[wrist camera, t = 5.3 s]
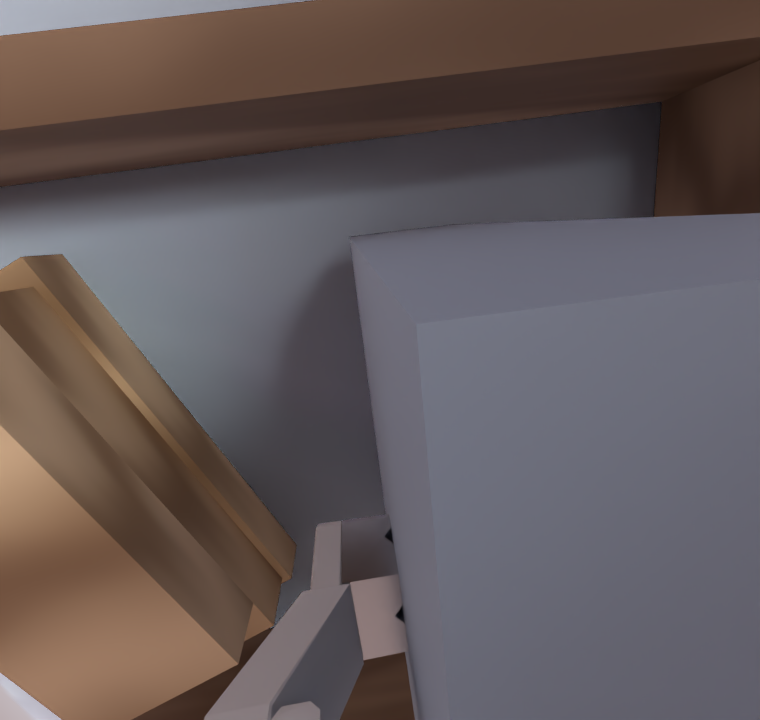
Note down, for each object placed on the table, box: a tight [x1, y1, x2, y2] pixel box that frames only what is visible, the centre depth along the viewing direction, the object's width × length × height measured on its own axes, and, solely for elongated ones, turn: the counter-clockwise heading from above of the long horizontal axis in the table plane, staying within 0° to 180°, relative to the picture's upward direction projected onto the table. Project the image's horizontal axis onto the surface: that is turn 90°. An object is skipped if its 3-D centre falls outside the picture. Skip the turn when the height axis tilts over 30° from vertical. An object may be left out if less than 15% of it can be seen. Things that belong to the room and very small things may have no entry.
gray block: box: [349, 213, 760, 720], centre depth 8 cm, size 12×3×11 cm, turn 6°
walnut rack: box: [0, 0, 760, 720], centre depth 13 cm, size 22×26×5 cm
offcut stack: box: [0, 254, 297, 720], centre depth 13 cm, size 14×6×6 cm, turn 29°
